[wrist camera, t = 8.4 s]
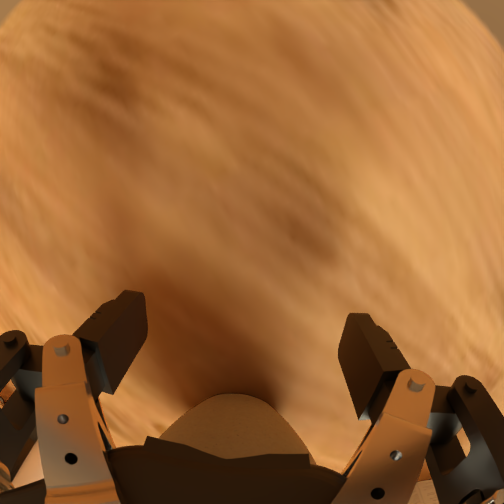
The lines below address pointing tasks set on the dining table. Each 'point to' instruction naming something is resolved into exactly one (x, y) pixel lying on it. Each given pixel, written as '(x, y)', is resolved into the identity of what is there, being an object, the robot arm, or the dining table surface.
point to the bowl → (236, 428)
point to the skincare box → (424, 493)
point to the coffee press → (27, 462)
